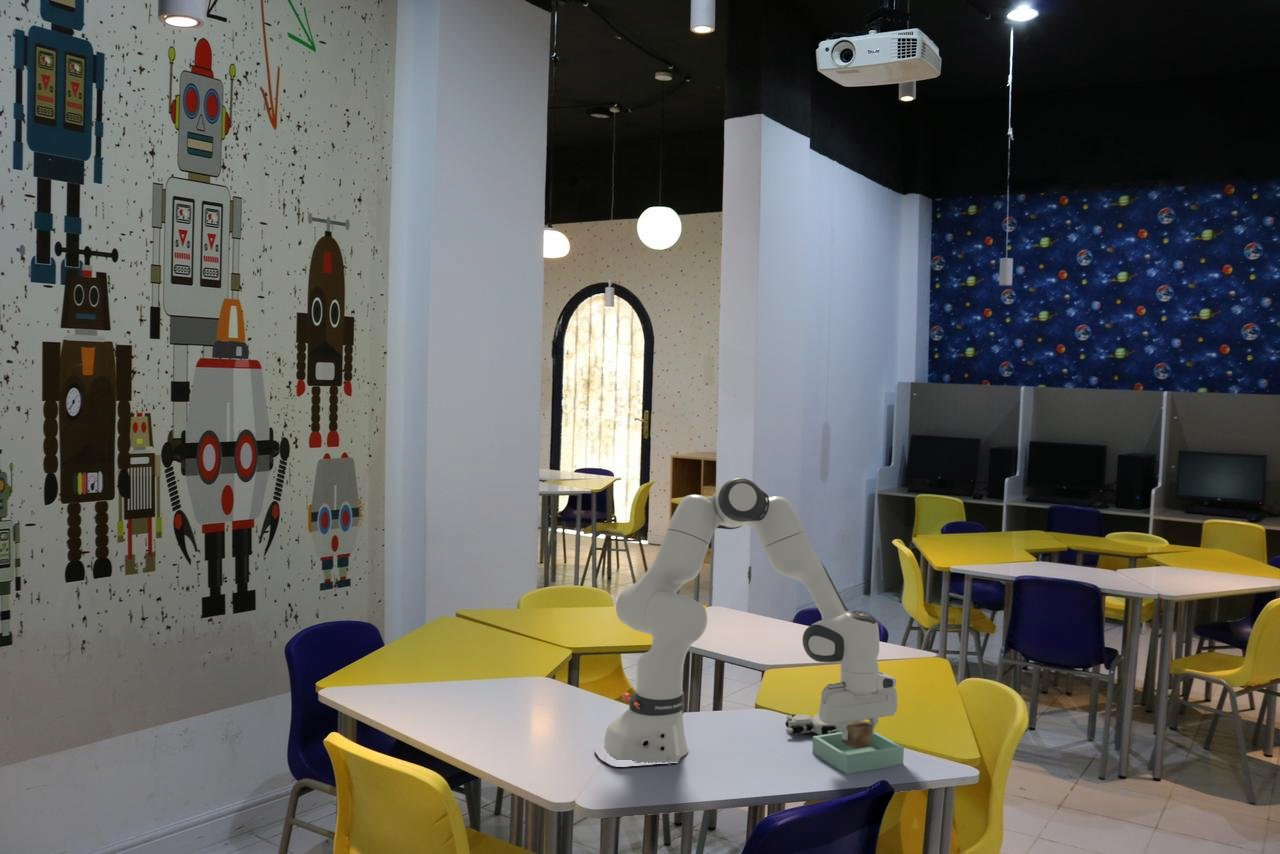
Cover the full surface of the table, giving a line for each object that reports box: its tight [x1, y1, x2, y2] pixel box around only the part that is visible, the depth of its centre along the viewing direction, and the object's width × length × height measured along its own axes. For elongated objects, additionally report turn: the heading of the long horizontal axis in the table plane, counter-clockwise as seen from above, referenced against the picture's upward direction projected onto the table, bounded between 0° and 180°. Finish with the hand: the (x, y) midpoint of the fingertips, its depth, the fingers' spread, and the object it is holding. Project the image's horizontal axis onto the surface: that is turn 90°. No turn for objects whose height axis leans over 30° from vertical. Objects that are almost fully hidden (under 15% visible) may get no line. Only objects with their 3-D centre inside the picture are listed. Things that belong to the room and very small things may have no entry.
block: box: [842, 720, 873, 749], centre depth 241 cm, size 5×5×5 cm
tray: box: [812, 731, 905, 775], centre depth 241 cm, size 16×14×4 cm
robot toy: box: [785, 712, 842, 736], centre depth 258 cm, size 12×4×15 cm
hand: (857, 737), depth 241 cm, fingers closed on block, 5 cm apart
